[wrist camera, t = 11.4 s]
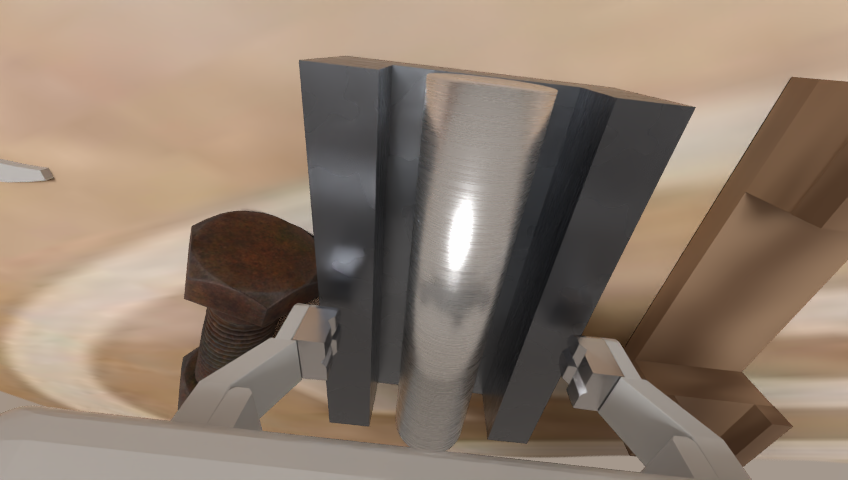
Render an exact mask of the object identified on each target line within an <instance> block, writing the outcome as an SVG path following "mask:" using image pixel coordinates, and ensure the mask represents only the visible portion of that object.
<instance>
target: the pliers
mask: <svg viewBox="0 0 848 480" xmlns="http://www.w3.org/2000/svg"><path fill="white" fill-rule="evenodd" d="M52 178H54V177H53V175H52V174H51V172H50V170H49V168H46V167H39V166H33V165H27V164H22V163H18V162H13V161H8V160H3V159H0V181H2V182H33V181H46V180H49V179H52Z"/></svg>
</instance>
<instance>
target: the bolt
mask: <svg viewBox="0 0 848 480" xmlns="http://www.w3.org/2000/svg"><path fill="white" fill-rule="evenodd" d="M318 296H319V291H318V279H317V267H316V256H315V244H314V238H313V237H312V236H311V235H310V234H308V233H307V232H306V231H305V230H303V229H302V228H300V227H298V226H296V225H293V224H291V223H289V222H287V221H285V220H282V219H280V218H278V217H276V216H273V215H269V214H265V213H257V212H249V211H233V212H227V213H222V214H219V215H216V216H213V217H211V218H208V219H206V220H204V221H202V222H199V223H197V224H195V225H193V226H192V228H191V235H190V243H189V252H188V262H187V273H186V284H185V294H184V299H186V300H189V301H192V302H194V303H197V304H200V305H203V306H205V307H207V310H206V316H205V321H204V324H203V329H202V335H201V340H200V346H199V347H198V348H196V349H195V350H193V351H192V352H190V353H189V354H187V355H186V356H184V357H183V362H182V368H181V378H180V389H179V401H178V410H179V409H180V407H181V406H182V404H183V403H184V402H185V400H186V399H187V398H188V396H189V395H190V394H191V392H192V391H193V390H194V388H195V387H196V385H197V384H198V383H199V381H201V380H203V379H204V378H206V377H207V376H209V375H211V374H212V373H214V372H216V371H217V370H219V369H220V368H222V367H224V366H225V365H227V364H229V363H230V362H232V361H233V360H235V359H237V358H238V357H240V356H242V355H243V354H245V353H246V352H248V351H250V350H251V349H253V348H255V347H256V346H258V345H259V344H261V343H263V342H264V341H266V340H268V339H269V338H272V336H273V333H274V331H275V328H276V325H277V323H278V319H279V317H281V316H283V315H285V314H287V313H289V312H290V311H291V310H292V308H293V306H294V305H295V304H297V303H301V304H306V303H308V302H309V301H311V300H313V299H315V298H317V297H318Z"/></svg>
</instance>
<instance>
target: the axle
mask: <svg viewBox="0 0 848 480" xmlns="http://www.w3.org/2000/svg"><path fill="white" fill-rule="evenodd" d="M557 92H558V90H556V89H554V88H551V87H547V86H542V85H537V84H532V83H526V82H520V81H514V80H507V79H500V78H491V77H482V76H474V75H463V74H449V73H429V74H427V77H426V88H425V99H424V110H423V121H422V132H421V143H420V154H419V165H418V176H417V187H416V198H415V209H414V220H413V231H412V242H411V253H410V264H409V275H408V286H407V297H406V308H405V319H404V330H403V341H402V352H401V363H400V374H399V385H398V396H397V407H396V427H397V430H398V432H399V435H400V436H401V438H402V439H403V441H404V442H405V443H406V444H407V445H408V446H409V447H412V448H421V449H430V450H439V451H446V450H448V449H449V448H451V447H452V446H453V445H454V444H455V443H456V441H457V440H458V438H459V436H460V433H461V430H462V426H463V423H464V419H465V416H466V412H467V409H468V405H469V402H470V398H471V395H472V391H473V388H474V384H475V381H476V377H477V374H478V370H479V366H480V363H481V359H482V356H483V352H484V349H485V345H486V342H487V338H488V335H489V331H490V328H491V324H492V321H493V317H494V314H495V310H496V307H497V303H498V300H499V296H500V292H501V289H502V285H503V282H504V278H505V275H506V271H507V268H508V264H509V261H510V257H511V254H512V250H513V247H514V243H515V240H516V236H517V233H518V229H519V226H520V222H521V218H522V215H523V211H524V208H525V204H526V201H527V197H528V194H529V190H530V187H531V183H532V180H533V176H534V173H535V169H536V166H537V162H538V159H539V155H540V152H541V148H542V144H543V141H544V137H545V134H546V130H547V127H548V123H549V120H550V116H551V113H552V109H553V106H554V102H555V99H556V95H557Z"/></svg>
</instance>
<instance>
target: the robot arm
mask: <svg viewBox="0 0 848 480" xmlns="http://www.w3.org/2000/svg"><path fill="white" fill-rule="evenodd" d="M340 318H341V310H340V309H339V308H333V307H325V306H318V305H308V304H301V303H297V304H295V305H294V306H293V308H292V310H291V311H290V313H289V315H288V317H287V318H286V320H285V322H284V323H283V325H282V327H281V329H280V330H279V332H278V334H277V335H276V337H275V338H269V339H268V340H266V341H264V342H263V343H261V344H259V345H258V346H256V347H255V348H253V349H251V350H250V351H248V352H246V353H245V354H243V355H242V356H240V357H238V358H237V359H235V360H233V361H232V362H230V363H229V364H227V365H225V366H224V367H222V368H220V369H219V370H217V371H216V372H214V373H212V374H211V375H209V376H207V377H206V378H204V379H203V380H201V381H199V383H198V384H197V385H196V387H195V388H194V390H193V391H192V392H191V394H190V395H189V396H188V398H187V399H186V400H185V402H184V403H183V404H182V406H181V407H180V409H179V410H178V411H177V413H176V414H175V415H174V417H173V418H172V419H171V421H167V420H158V419H149V418H140V417H131V416H122V415H113V414H104V413H95V412H86V411H76V410H68V409H60V408H52V407H44V406H23V407H18V408H14V409H11V410H8V411H6V412H3V413H1V414H0V480H751V478H750V477H749V475H748V474H747V473H746V471H745V470H744V468H743V467H742V465H741V464H740V463H739V461H738V460H737V458H736V457H735V455H734V454H733V453H732V451H731V450H730V448H729V447H728V446H727V444H726V443H725V441H724V440H723V439H722V438H720V437H719V436H718V435H716V434H715V433H714V432H713V431H711V430H710V429H709V428H707V427H706V426H705V425H704V424H702V423H701V422H700V421H698V420H697V419H696V418H695V417H693V416H692V415H691V414H689V413H688V412H687V411H686V410H684V409H683V408H682V407H680V406H679V405H678V404H677V403H675V402H674V401H673V400H671V399H670V398H669V397H668V396H666V395H665V394H664V393H662V392H661V391H660V390H659V389H657V388H656V387H655V386H653V385H652V384H651V383H650V382H648V381H647V380H643V379H641V377H640V376H639V374H638V372H637V371H636V369H635V367H634V366H633V364H632V362H631V361H630V359H629V358H628V356H627V354H626V353H625V351H624V349H623V348H622V346H621V344H620V343H619V341H617V340H616V339H611V338H599V337H591V336H581V335H571V336H570V337H569V338H568V340H567V344H568V348H566V349H564V350H563V351H562V353H561V355H560V359H559V368H560V373H561V376H562V378H563V379H564V380H565V381H566V382H567V383H568V384H569V385H568V387H567V392H568V395H569V398H570V401H571V403H572V406H573V408H579V409H586V410H593V411H599V412H598V413H599V414H600V415H601V416H602V418H603V419H604V420H605V421H606V422H607V423H608V424H609V426H610V427H611V428H612V429H613V430H614V431H615V432H616V434H617V435H618V436H619V437H620V438H621V439H622V440H623V441H624V443H625V444H626V445H627V446H628V447H629V448H630V449H631V451H632V452H633V453H634V454H635V455H636V456H637V457H638V458H639V460H640V461H641V462H642V463H643V464H644V465H645V466H646V467H645V468H644V469H643V470H642V471H641V472H630V471H621V470H612V469H603V468H594V467H585V466H575V465H566V464H558V463H549V462H539V461H530V460H521V459H512V458H503V457H494V456H484V455H475V454H466V453H457V452H448V451H439V450H430V449H421V448H412V447H403V446H394V445H385V444H375V443H366V442H357V441H348V440H339V439H330V438H321V437H312V436H303V435H294V434H285V433H276V432H267V431H262V427H261V424H260V420H259V419H260V418H261V417H262V416H263V415H264V414H265V413H266V412H267V411H268V410H269V409H270V408H272V407H273V406H274V405H275V404H276V403H277V402H278V401H279V400H280V399H281V398H282V397H283V396H285V395H286V394H287V393H288V392H289V391H290V390H291V389H292V388H293V387H294V386H295V385H297V384H298V383H299V382H300V381H301V380H302V378H305V379H318V380H327V379H328V377H329V374H330V371H331V368H332V365H333V355H335V354H336V353H337V351H338V348H339V345H340V340H341V332H342V328H341V325H340V324H339V321H340Z"/></svg>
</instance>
